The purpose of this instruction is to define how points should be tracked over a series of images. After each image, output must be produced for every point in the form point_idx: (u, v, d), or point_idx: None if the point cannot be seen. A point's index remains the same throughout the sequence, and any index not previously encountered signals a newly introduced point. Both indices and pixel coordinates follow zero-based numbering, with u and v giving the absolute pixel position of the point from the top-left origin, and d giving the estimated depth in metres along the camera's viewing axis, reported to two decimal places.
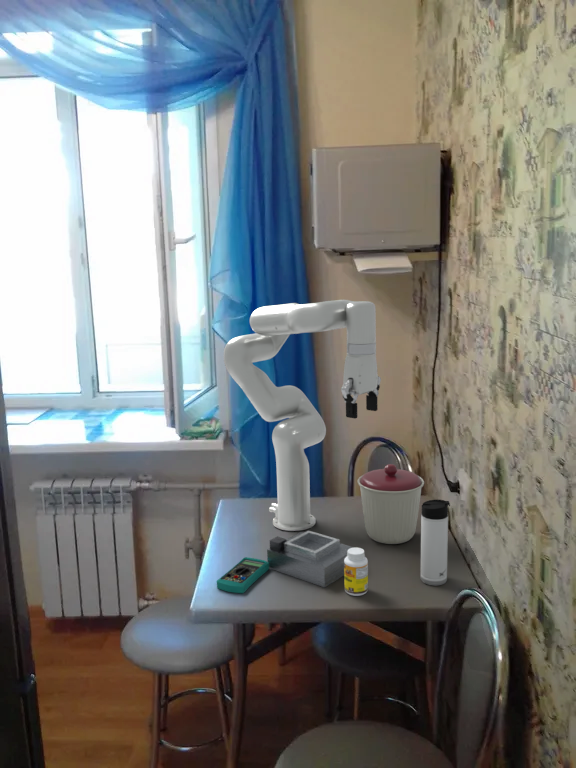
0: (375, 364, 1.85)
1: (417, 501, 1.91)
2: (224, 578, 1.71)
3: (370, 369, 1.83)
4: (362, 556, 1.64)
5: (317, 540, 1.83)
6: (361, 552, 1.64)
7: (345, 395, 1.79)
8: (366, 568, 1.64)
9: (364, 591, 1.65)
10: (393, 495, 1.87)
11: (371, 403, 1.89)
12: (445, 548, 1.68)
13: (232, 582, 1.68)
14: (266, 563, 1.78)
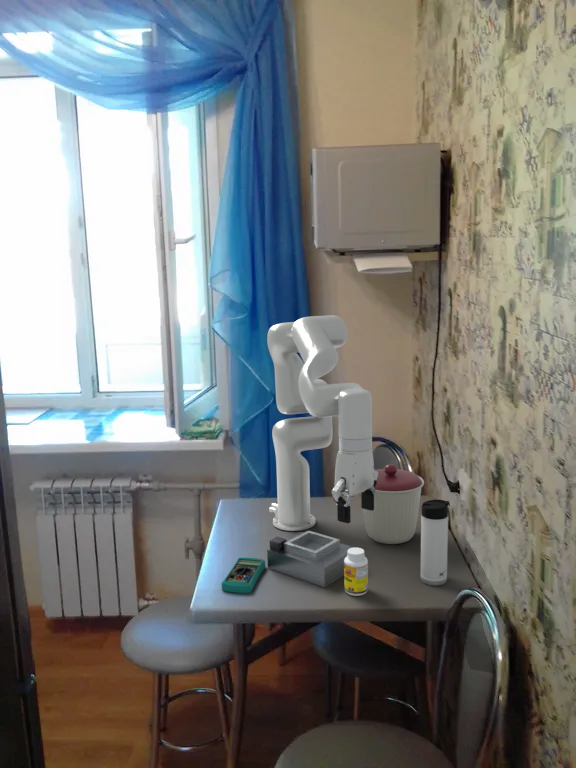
0: (371, 459, 1.62)
1: (417, 501, 1.91)
2: (228, 579, 1.70)
3: (365, 466, 1.60)
4: (362, 556, 1.64)
5: (317, 540, 1.83)
6: (361, 552, 1.64)
7: (336, 498, 1.56)
8: (366, 568, 1.64)
9: (364, 591, 1.65)
10: (393, 495, 1.87)
11: (367, 501, 1.66)
12: (445, 548, 1.68)
13: (239, 582, 1.68)
14: (263, 561, 1.80)
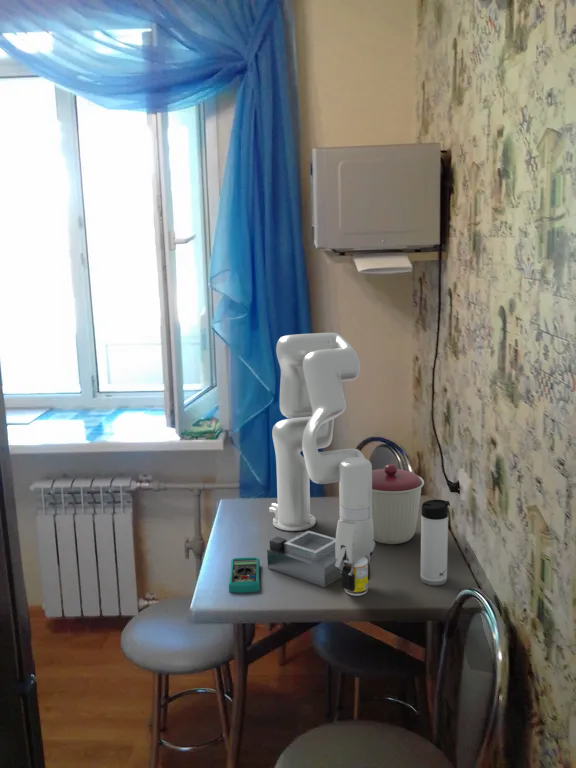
0: (371, 526, 1.65)
1: (417, 501, 1.91)
2: (234, 581, 1.69)
3: (365, 533, 1.63)
4: None
5: (317, 540, 1.83)
6: None
7: (341, 569, 1.61)
8: (366, 568, 1.64)
9: (364, 591, 1.65)
10: (393, 495, 1.87)
11: None
12: (445, 548, 1.68)
13: (247, 582, 1.68)
14: (258, 559, 1.81)
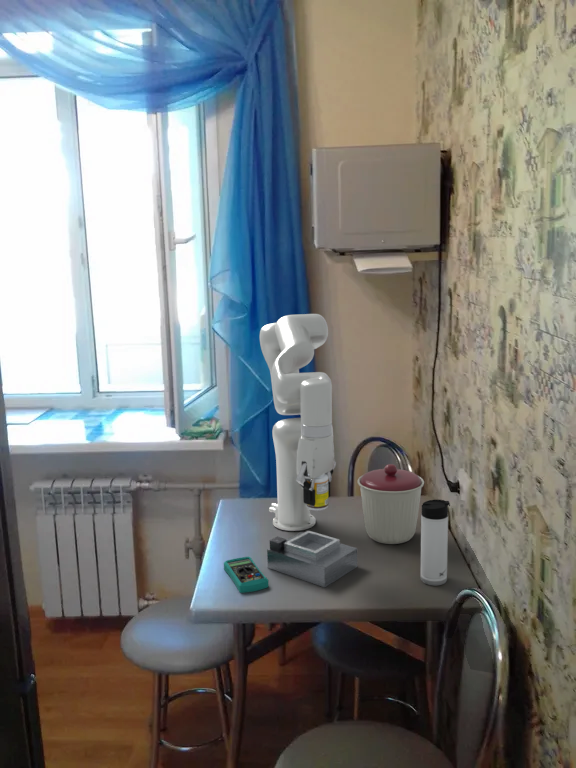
0: (331, 444, 1.73)
1: (417, 501, 1.91)
2: (243, 581, 1.69)
3: (325, 451, 1.71)
4: None
5: (317, 540, 1.83)
6: None
7: (302, 484, 1.69)
8: (326, 484, 1.73)
9: (324, 506, 1.73)
10: (393, 495, 1.87)
11: None
12: (445, 548, 1.68)
13: (257, 580, 1.69)
14: None
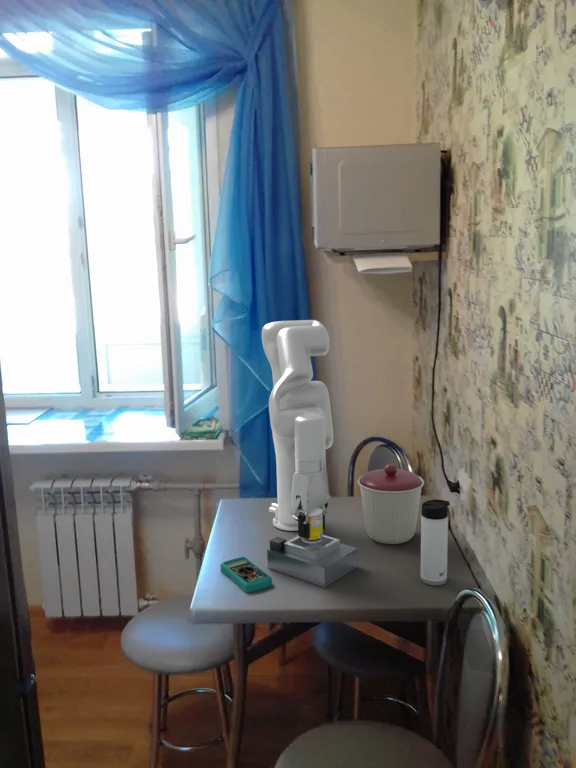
0: (325, 478, 1.77)
1: (417, 501, 1.91)
2: (248, 580, 1.69)
3: (319, 485, 1.75)
4: None
5: None
6: None
7: (296, 518, 1.73)
8: (320, 517, 1.76)
9: (318, 539, 1.77)
10: (393, 495, 1.87)
11: None
12: (445, 548, 1.68)
13: (262, 578, 1.70)
14: (246, 558, 1.82)
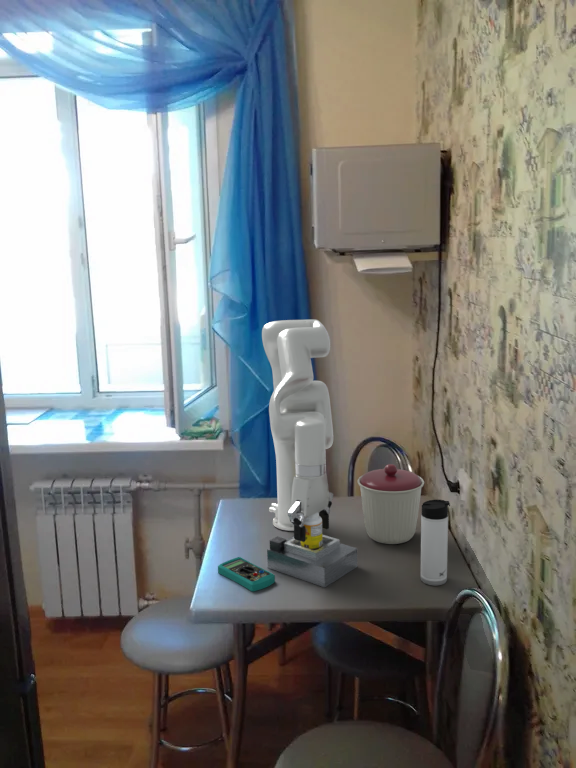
0: (325, 483, 1.77)
1: (417, 501, 1.91)
2: (252, 580, 1.70)
3: (319, 490, 1.75)
4: (316, 515, 1.76)
5: None
6: None
7: (292, 519, 1.71)
8: (320, 526, 1.77)
9: (318, 548, 1.77)
10: (393, 495, 1.87)
11: (322, 521, 1.81)
12: (445, 548, 1.68)
13: (266, 577, 1.71)
14: (242, 558, 1.82)
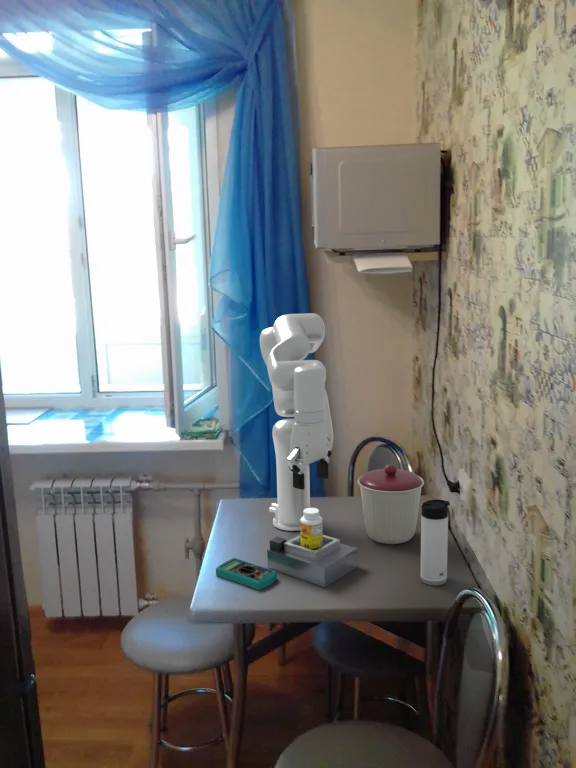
0: (325, 431, 1.75)
1: (417, 501, 1.91)
2: (257, 578, 1.70)
3: (319, 437, 1.73)
4: (317, 515, 1.76)
5: None
6: (316, 511, 1.76)
7: (291, 466, 1.69)
8: (321, 526, 1.77)
9: (318, 548, 1.77)
10: (393, 495, 1.87)
11: (322, 470, 1.79)
12: (445, 548, 1.68)
13: (269, 574, 1.72)
14: None
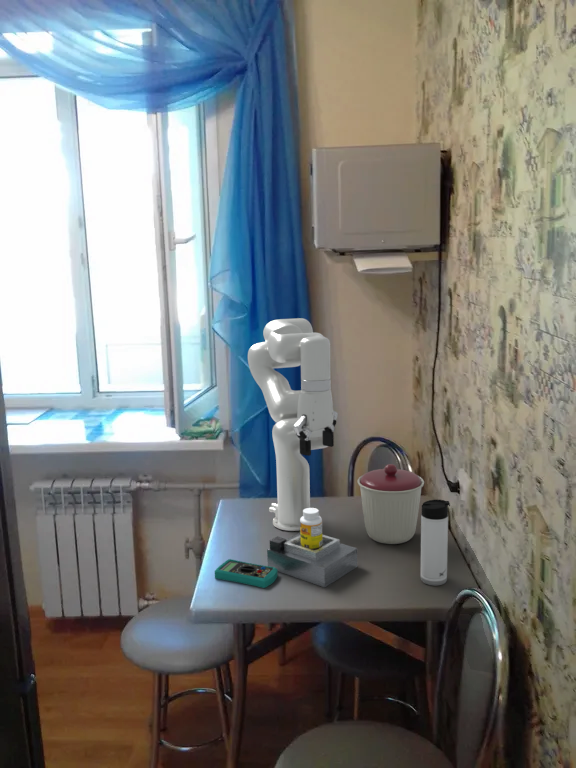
0: (330, 400, 1.82)
1: (417, 501, 1.91)
2: (261, 576, 1.71)
3: (325, 405, 1.80)
4: (316, 515, 1.76)
5: None
6: (316, 511, 1.76)
7: (298, 432, 1.76)
8: (320, 526, 1.77)
9: (318, 548, 1.77)
10: (393, 495, 1.87)
11: (327, 439, 1.86)
12: (445, 548, 1.68)
13: (272, 571, 1.73)
14: None
